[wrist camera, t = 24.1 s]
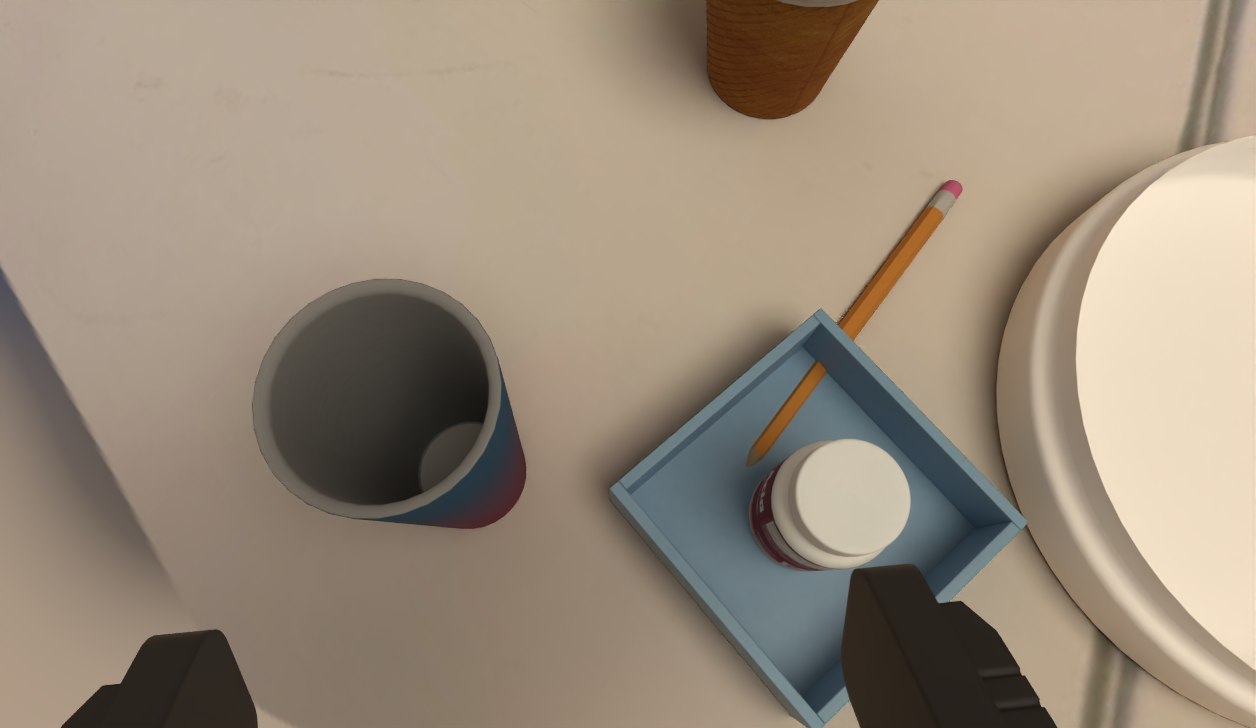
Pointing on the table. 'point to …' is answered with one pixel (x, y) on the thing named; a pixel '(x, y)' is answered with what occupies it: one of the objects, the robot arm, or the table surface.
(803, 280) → the table surface
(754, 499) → the pill bottle
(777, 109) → the disposable coffee cup
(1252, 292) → the white round tray
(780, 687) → the open blue box
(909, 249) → the pencil
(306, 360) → the cup
